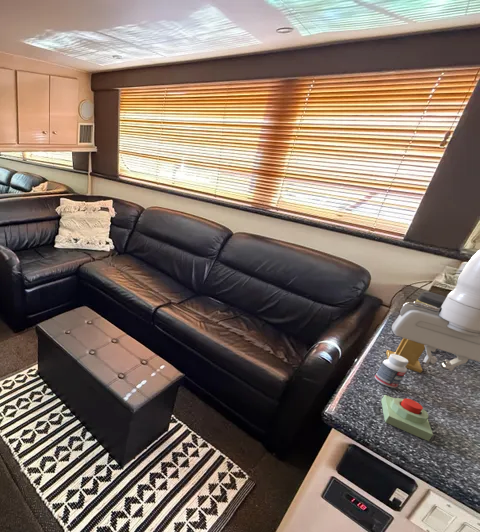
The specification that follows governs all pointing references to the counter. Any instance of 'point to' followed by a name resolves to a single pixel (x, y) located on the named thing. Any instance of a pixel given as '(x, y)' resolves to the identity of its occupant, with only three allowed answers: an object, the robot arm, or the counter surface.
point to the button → (411, 406)
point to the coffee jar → (431, 299)
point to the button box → (406, 418)
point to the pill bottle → (392, 371)
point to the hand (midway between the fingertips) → (437, 365)
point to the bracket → (409, 353)
